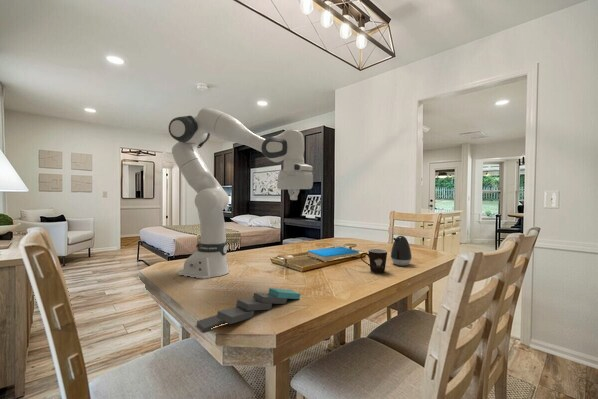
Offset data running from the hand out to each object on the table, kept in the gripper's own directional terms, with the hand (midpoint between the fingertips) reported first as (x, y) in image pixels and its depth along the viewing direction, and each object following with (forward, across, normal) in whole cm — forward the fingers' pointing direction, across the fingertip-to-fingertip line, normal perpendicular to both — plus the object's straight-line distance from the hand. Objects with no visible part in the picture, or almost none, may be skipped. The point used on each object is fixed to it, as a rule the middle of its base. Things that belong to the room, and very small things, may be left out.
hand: (293, 200), depth 117 cm
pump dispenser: (+34, +18, +58) cm, 70 cm away
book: (+35, -17, +44) cm, 59 cm away
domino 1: (+34, +17, -37) cm, 53 cm away
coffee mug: (+34, +16, +37) cm, 53 cm away
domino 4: (+33, +16, -19) cm, 42 cm away
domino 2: (+33, +18, -33) cm, 50 cm away
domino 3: (+33, +17, -26) cm, 45 cm away
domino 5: (+33, +16, -13) cm, 39 cm away
